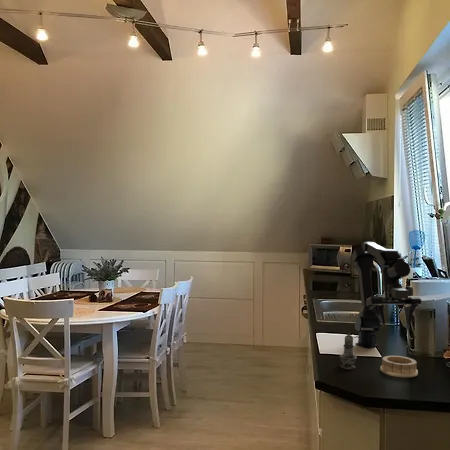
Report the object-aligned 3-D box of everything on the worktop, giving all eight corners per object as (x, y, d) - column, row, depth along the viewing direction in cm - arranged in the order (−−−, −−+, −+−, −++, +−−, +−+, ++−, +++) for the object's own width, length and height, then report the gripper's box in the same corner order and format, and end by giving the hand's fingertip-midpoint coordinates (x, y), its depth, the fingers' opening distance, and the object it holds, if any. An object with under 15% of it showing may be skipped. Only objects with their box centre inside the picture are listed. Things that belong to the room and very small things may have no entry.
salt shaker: (344, 363, 180) (345, 329, 180) (359, 366, 176) (360, 332, 176) (336, 366, 176) (337, 332, 175) (352, 370, 172) (353, 335, 172)
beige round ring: (373, 369, 174) (373, 357, 173) (395, 364, 180) (396, 353, 180) (402, 379, 163) (402, 367, 163) (425, 374, 170) (425, 362, 170)
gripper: (375, 277, 175) (380, 323, 170) (426, 278, 177) (432, 323, 172) (363, 284, 186) (367, 327, 181) (411, 284, 188) (417, 327, 183)
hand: (396, 325), depth 179 cm, fingers open, 9 cm apart
